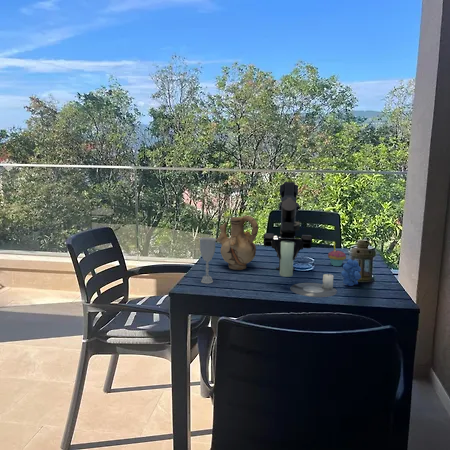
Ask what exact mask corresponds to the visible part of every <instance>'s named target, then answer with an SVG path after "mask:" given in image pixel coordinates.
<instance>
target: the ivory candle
mask: <svg viewBox="0 0 450 450" xmlns="http://www.w3.org/2000/svg"><path fill="white" fill-rule="evenodd" d="M322 284H323V286H322V288H324V289H333V288H334V275H333V274H331V273H324V274H322Z"/></svg>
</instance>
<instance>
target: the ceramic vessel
mask: <svg viewBox="0 0 450 450" xmlns="http://www.w3.org/2000/svg"><path fill="white" fill-rule="evenodd" d="M246 222H248V223H249V224H250V225H251V232H250V231H245V229H244V226H245V223H246ZM227 224H228V223H227V221H226V222H224V223H223V224H220V226H219V229H220V233H219V236H218V237H217V238H216V239H217V240H216V241H215V242H217V243H220V245H221V247H220V255H221V257H222V258H223V260H224V262H225V263H228V264H227V265H228V268H229V269H230V270H236V271H240V270H241V271H242V270H245V269H247V264H249V263H251V261H253V260H254V259H255V257H256V253H257V246H256V244H255V243H254V242H255V240H256V238H257V236H258V234H259V225H258V222H257V221H256V219H255V218H253V217H252V216H250V215H244V216H240V217H239V216H238V217H237V216H233V217H230V224H231V226H230V227H231V228H230V236H229V237H228V233H227Z"/></svg>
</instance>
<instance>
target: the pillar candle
mask: <svg viewBox="0 0 450 450" xmlns="http://www.w3.org/2000/svg"><path fill="white" fill-rule="evenodd" d="M294 245H295V243H294V242H293V241H288V240H287V241H281V253H280V254H281V256H280V270H279V276H280V277H284V278H286V277H287V278H289V277H293V276H294V270H293V268H294V260H293V256H294Z"/></svg>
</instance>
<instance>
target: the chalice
mask: <svg viewBox="0 0 450 450" xmlns="http://www.w3.org/2000/svg"><path fill="white" fill-rule="evenodd" d="M198 240H199V252H200V255H201V257H202V259H203V261H204V262H205V269H204V272H205V275H203V276H202V278H201V281H200V283H202V284H213V283H214V281H213V278H212V276H211V275H210V274H209V271H210V269H209V267H210V262H211V261H212V259H213V257H214V255H215V252H216V242H217V241H216V240H217V238H216V237H215V238H214V237H210V236H208V237H200V238H198Z"/></svg>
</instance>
